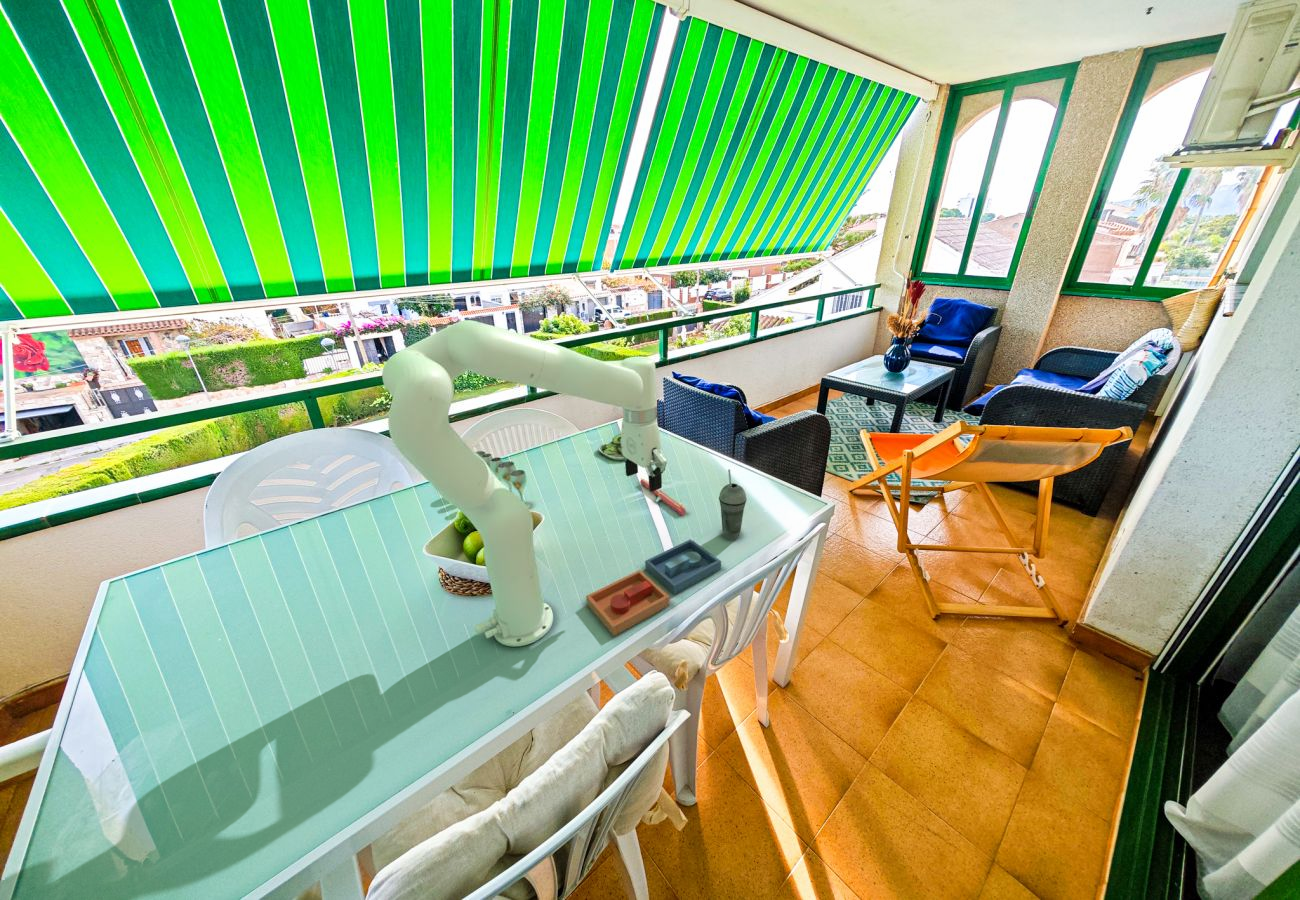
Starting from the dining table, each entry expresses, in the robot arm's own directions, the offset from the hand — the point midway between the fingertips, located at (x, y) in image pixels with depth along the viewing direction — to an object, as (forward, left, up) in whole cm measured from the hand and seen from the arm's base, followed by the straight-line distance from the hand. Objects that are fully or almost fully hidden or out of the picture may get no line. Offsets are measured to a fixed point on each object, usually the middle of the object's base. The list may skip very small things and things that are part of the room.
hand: (643, 481), depth 108 cm
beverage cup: (+24, -6, -22) cm, 33 cm away
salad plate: (+31, +61, -22) cm, 72 cm away
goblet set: (-18, +56, -22) cm, 63 cm away
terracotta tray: (-13, -11, -22) cm, 28 cm away
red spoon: (-12, -11, -22) cm, 27 cm away
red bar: (+21, +22, -22) cm, 38 cm away
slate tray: (+4, -9, -22) cm, 24 cm away
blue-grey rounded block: (+4, -9, -22) cm, 24 cm away
